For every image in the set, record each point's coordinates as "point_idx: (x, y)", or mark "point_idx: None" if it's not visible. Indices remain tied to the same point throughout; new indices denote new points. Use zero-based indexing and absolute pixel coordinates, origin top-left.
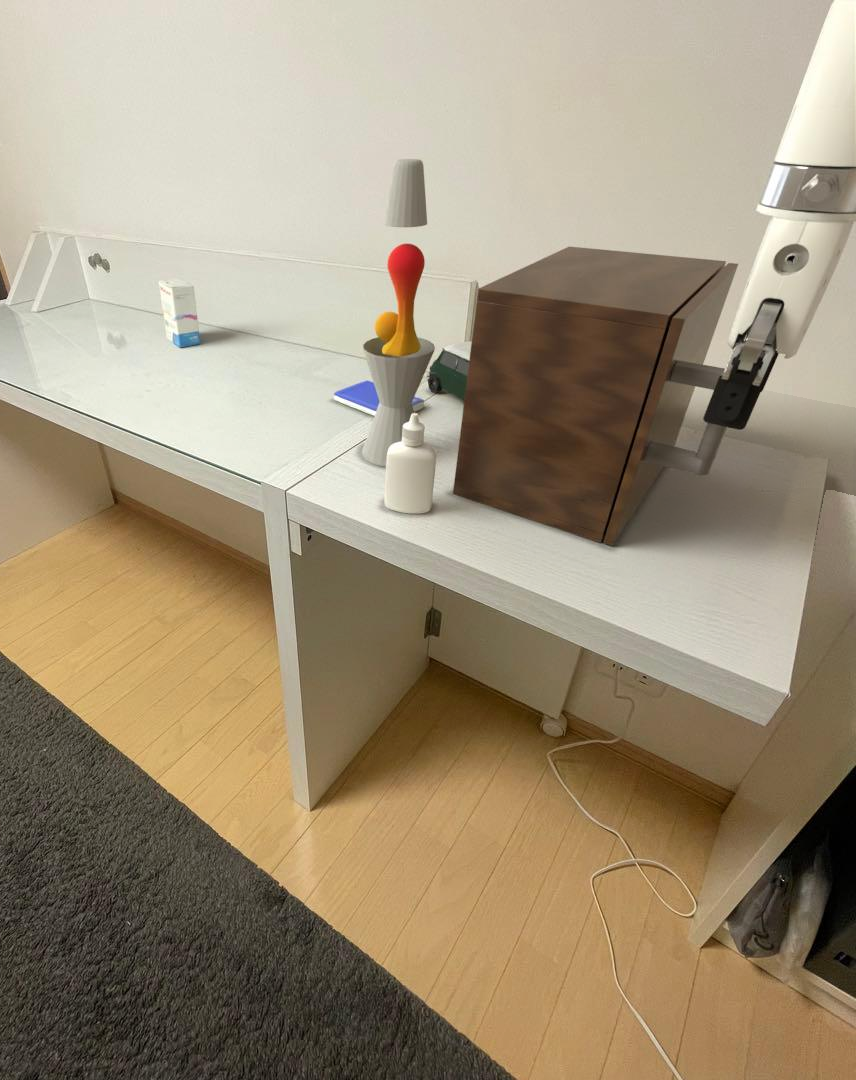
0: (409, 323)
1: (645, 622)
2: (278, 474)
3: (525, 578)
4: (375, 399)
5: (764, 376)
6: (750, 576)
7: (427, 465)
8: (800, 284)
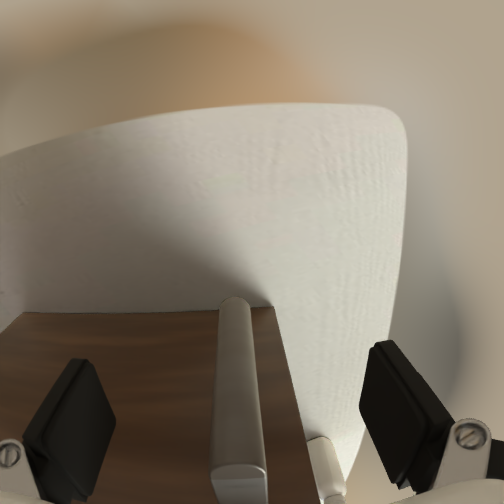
0: None
1: (386, 231)
2: None
3: (377, 341)
4: None
5: (76, 395)
6: (227, 157)
7: (337, 476)
8: None
